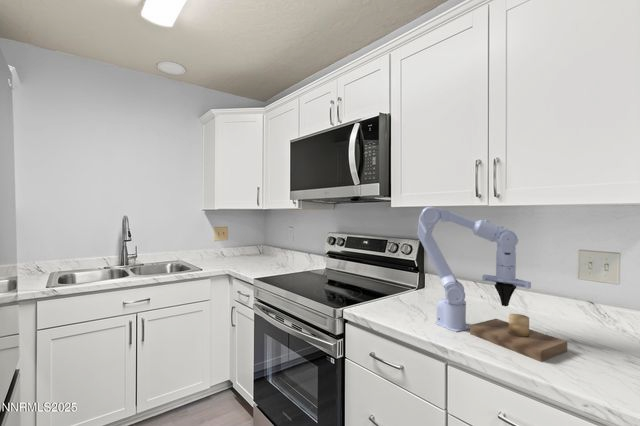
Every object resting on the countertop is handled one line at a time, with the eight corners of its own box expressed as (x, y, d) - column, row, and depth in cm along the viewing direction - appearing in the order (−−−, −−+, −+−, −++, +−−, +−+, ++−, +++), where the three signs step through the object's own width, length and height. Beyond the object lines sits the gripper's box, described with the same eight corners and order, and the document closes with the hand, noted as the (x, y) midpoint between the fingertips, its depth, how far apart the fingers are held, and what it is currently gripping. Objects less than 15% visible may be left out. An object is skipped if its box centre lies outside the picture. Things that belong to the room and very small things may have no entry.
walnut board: (470, 333, 107) (470, 324, 107) (496, 326, 114) (496, 318, 114) (540, 361, 88) (541, 350, 88) (567, 351, 95) (567, 341, 95)
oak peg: (504, 340, 101) (505, 315, 101) (515, 337, 104) (515, 312, 104) (522, 347, 96) (522, 320, 96) (532, 343, 99) (533, 317, 99)
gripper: (478, 263, 111) (477, 302, 111) (525, 269, 100) (524, 313, 100) (487, 261, 116) (487, 299, 116) (533, 267, 104) (533, 309, 104)
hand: (505, 305), depth 108 cm, fingers closed
